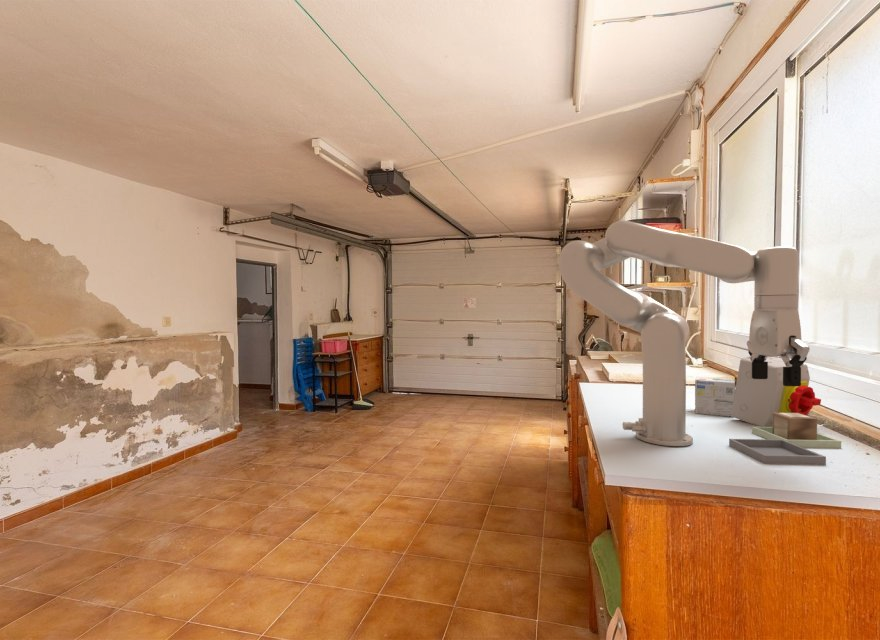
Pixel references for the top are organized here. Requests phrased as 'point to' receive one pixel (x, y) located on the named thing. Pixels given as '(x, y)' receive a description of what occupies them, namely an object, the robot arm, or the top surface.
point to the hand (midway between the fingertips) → (774, 382)
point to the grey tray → (777, 451)
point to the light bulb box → (714, 396)
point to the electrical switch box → (770, 394)
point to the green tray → (819, 443)
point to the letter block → (794, 426)
